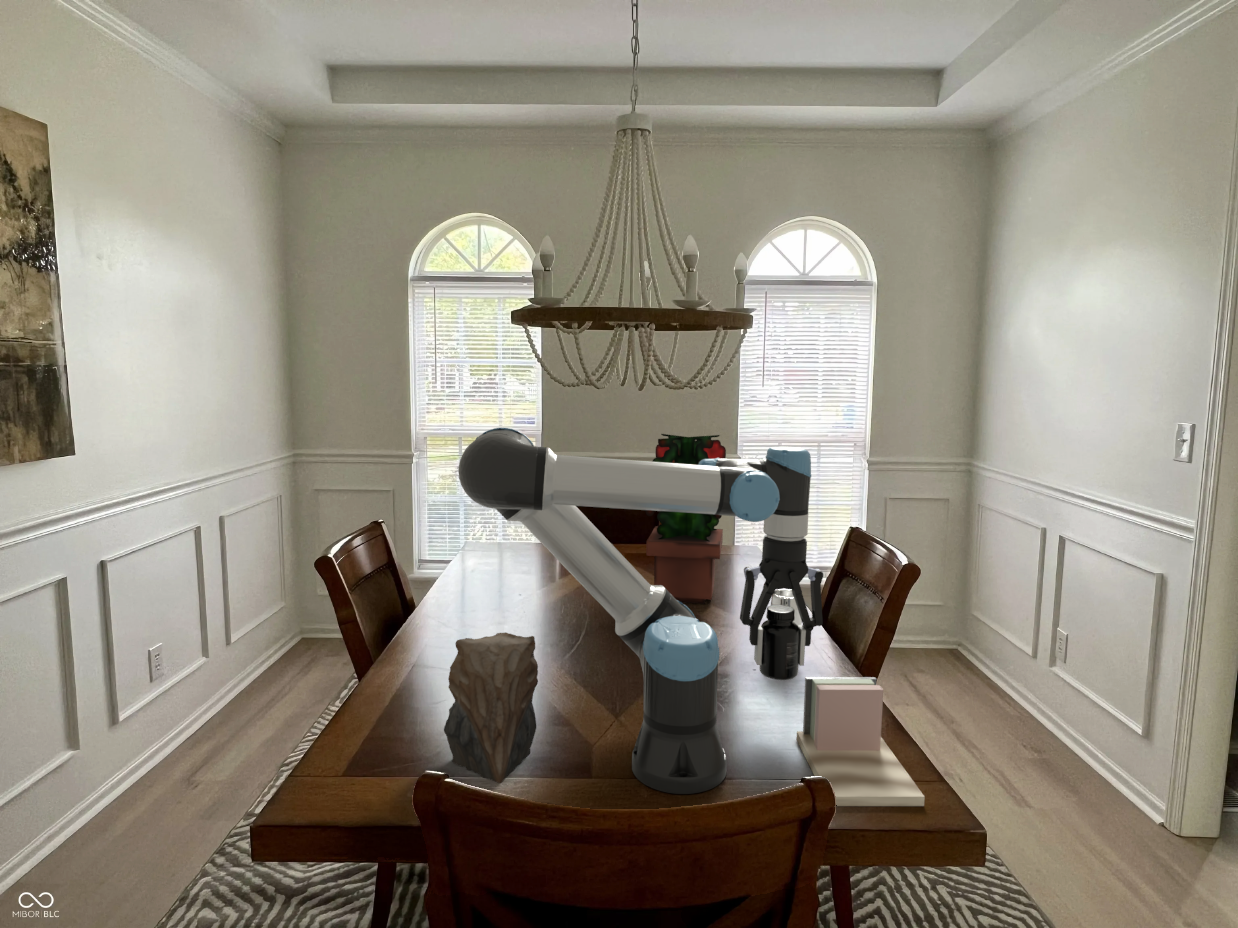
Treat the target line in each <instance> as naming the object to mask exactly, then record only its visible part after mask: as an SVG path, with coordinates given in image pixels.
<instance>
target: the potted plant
mask: <svg viewBox="0 0 1238 928" xmlns="http://www.w3.org/2000/svg"><path fill="white" fill-rule="evenodd" d="M661 436H663V437H666V438H657V443H658V444H657V445H656V446H655V457H654V458H653V459H652V461H651V462H663V463H677V464H691V465H698V464H699V462H700V461H701V460H703V459H716V458H721V459H727V458H726V457H727V454H726V453H727V449H726V447H725V446H724V445H722V444H721V440H719V439H712V438H718V437H720V436H721V435H720V434H716V435H715V434H714V435H698V436H697V435H696V436H683V435H675V434H666V433H661ZM643 511H645V515H646V516H647V517H652V516H654V514H655V512H656V511H653V510H643ZM722 516H723V515H715V514H702V513H685V512H669V511H658V513H657V516H656V518H657V520H658V522H659V523H660V524H659V525H657V526H656V525H655V526H654V528H653V530H652V531H651V533H650V535H649V536H648V538H647V540H646V546H645V547H646V548H645V550H646V554H645V556H649V557H653V558H654V559H653V560H654V562H653V563H654V564H653V566H654V568H653V571H654V572H653V576H654V577H653V580H654V581H653V585H662V586H663V587H665V588H666V589H667V590H668V592H669V593H670V594H671V595H672V596H673V597H674V598H675V599H676V600H678V601H679V602H681V603H682V604H686V603H687V604H699V605H702V604H703V605H705V604H706V600H713V594H714V588H715V578H716V577H715V574H716V571H715V570H716V560H720V559H721V554H722V548H723V537H724V536H723V533H724V529H723V528H715V527H716V526H718V525H719V522H720V519H721V518H722Z"/></svg>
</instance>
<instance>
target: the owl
mask: <svg viewBox="0 0 1238 928" xmlns="http://www.w3.org/2000/svg"><path fill="white" fill-rule="evenodd" d="M455 649H456V650H457V653H456V656H455V657H454V660H453V661H452V663H451V665H450V667H449V668H450V669H449V672H448V673H449V675H448V689H449V691H450V693H451V695H452V697H453V698H454V702H453V703H452V705H451V706H450V708H449V709H448V712H449V713H448V716H447V720H446V721H445V725H444V728H443V732H444V734H445V736H446V738H447V742H448V745H449V750H450V752H451V754H452V760H451V761H452V763H453V764H455V765H457V766H459V767H464V768H465V769H466V770H467V771H471V772H473V773H475V774H478V775H480V777H482V778H484V779H488V780H492V781H493V782H495V783H498V784H502V783H503V781H504V780H505V779H506V778H507V777H508V776H509V775H510V774H511V773H513V772H514V770H515V769H516V767H517V766H519V765H521V764H522V762H523V760H524V759H525V758H526V757H528V756H529V755H530V754H531V747H532V745H533V741H534V739H535V736H536V735H535V734H536V732H537V718H536V713H535V708H534V704H533V699H534V692H535V689H536V687H537V685H538V683H539V679H538V675H539V670H538V668H539V666H538V665H539V663H538V661H537V659H536V658H535V655H534V654H535V653H534V652H535V650H536V641H535V636H533V635H531V636H530V635H529V636H522V635H516V634H512V633H508V632H497V633H496V634H495V635H491V636H483V637H480V638H471V637H470V638H469V637H468V638H467V637H465V638H461V639H457V640H456V641H455Z"/></svg>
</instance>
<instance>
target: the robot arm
mask: <svg viewBox="0 0 1238 928" xmlns="http://www.w3.org/2000/svg"><path fill="white" fill-rule="evenodd" d="M811 457H812V456H811V453H810V452H809V450H807V449H805V448H802V447H796V446H795V447H794V446H771V447H769V448H768V449H767V450H766V455H765V458H757V459H755V458H754V459H753V458H725V459H721V458H716V459H703V460H701V461H700V462H699V464H698V465H691V464H677V463H663V462H652V461H647V460H633V459H632V460H631V459H621V458H620V459H619V458H608V457H607V458H606V457H605V458H604V457H591V456H578V455H567V454H566V455H565V454H564V455H562V454H556V453H555V452H554V451H553V450H552V449H551V448H550V447H547V446H546V447H545V446H535V445H534V443H533V441H532V440H531V439H530V438H529V437H528V436H527V435H526V434H524V433H521V432H520V431H519V430H516V429H513V428H509V427H496V428H491V429H488V430H485V431H484V432H483V433H482V434H480V435H479V436H477V437H476V438H475V440H473V441H472V442H471V443H470V444H468V446H467V447H466V448H465V450H464V451H463V453H462V455H461V457H460V460H459V464H458V470H457V471H458V480H459V482H460V487H462V490H463V491H464V493H465V494H466V495H467V496H468V497H469V498H470V499H471V500H472V501H473V502H475V503H476V504H478V505H480V506H483V507H485V508H488V509H493V510H496V511H497V512H498V513H499V514H500V515H501V516H502V517H503V518H504V519H505V520H506V521H507V522H519V523H521V524H522V526H524V527H525V528H526V529H527V530H528V531H529V532H530V533H531V534H532V535H533V536H534V537H535V539H537V541H539V542H540V543H541V544H542V545H543V547H544V548H546V549H547V550H548V551H549V553H550V554H552V556H553V558H555V559H556V560H557V561H558V562H559V563H560V565H562V566H563V567H564V569H566V571H568V573H570V574H571V575H572V577H574V579H575V580H576V581H577V582H578V583H579V584H580V585H582V586H581V587H583V588H584V589H585V590H586V591H587V592H588V594H589V595H591V596H592V597H593V598H594V599H595V601H597V603H599V604H600V606H601V607H602V608H603V609H604V610H605V611H606V612H607V613H608V614H609V615H610V616H611V617H612V618H613V619H614V620H615V624H614V625H615V626H614V627H615V628H614V632H615V634H616V635H617V636H618V637H619V638H620V639H621V640H622V641H623V642H624V643H625V644H626V645H627V646H628V647H629V648H630V649H631V651H633V652H634V654H635V655H637V657H638V658H639V662H640V666H641V669H642V674H643V675H642V676H643V721H642V723H641V726H640V729H639V732H638V735H637V738H636V742H635V745H634V746H633V747H634V748H633V750H632V753H631V770H632V772H633V775H634V776H635V778H636V779H637V780H638V781H639V782H640V783H642V784H643V785H645V786H647V787H648V788H651V789H653V790H657V791H659V792H662V793H668V794H676V795H689V794H690V795H691V794H697V793H703V792H706V791H710V790H712V789H713V788H716V787H717V786H718V785H720V784H722V782H723V781H724V780H725V777H726V776H727V767H728V766H727V765H728V764H727V762H728V761H727V760H728V759H727V754H726V752H725V749H724V748H723V745H722V740H721V736H720V732H719V729H718V726H717V718H718V717H717V715H718V714H717V713H718V712H717V711H718V675H719V673H718V672H719V660H720V648H719V647H720V646H719V639H718V636H717V633H716V632H715V630H714V628H712V626H710V625H709V624H708V623H706V622H705V621H700V620H699V619H698V618H696V616H695V614H694V613H693V611H692V610H691V609H690V608H689V607H688V606H687V605H686V604H685V603H682V602H679V601H678V600H676V599H675V598H674V597H673V596H672V595H671V594H670V593H669V592H668V590H667V589H666V588H665V587H663V586H662V585H654V584H650V583H649V581H647V579H645V578H644V576H643V575H642V574H641V573H640V572H639V570H637V569H636V568H635V567H634V566H633V565H632V563H630V562H629V561H628V560H627V558H625V556H624V554H623V555H622V553H621V552H620V551H619V550H618V549H617V548H616V547H615V546H614V544H613V543H612V542H610V541H609V540H608V538H606V537H605V535H604V534H603V533H602V532H601V531H600V530H599V529H598V528H597V527H596V526H595V525H594V523H592V521H590V519H588V517H587V516H586V515H585V514H584V513H583V512H582V511H581V510H580V509H579V508H578V507H590V508H591V507H593V508H605V509H606V508H609V509H622V510H623V509H624V510H641V511H644V510H653V511H655V512H656V511H657V512H660V511H669V512H685V513H702V514H715V515H722V516H729V517H737V518H739V519H740V520H743V521H747V522H752V523H759V522H763V529H762V530H763V531H762V532H763V533H764V534H765V535H764V536H763V538H762V556H761V560H760V562H759V564H758V566H753V567H749V566H745V567H744V568H743V573H744V577H745V583H744V588H743V595H742V601H741V607H740V612H739V619H740V621H741V623H742V625H744V626H749V636H748V637H749V639H748V640H749V642H750V645H751V646H754V655H753V659H754V662H755V663H756V665H757V666H760V665H761V661H762V639H763V629H762V627H761V625H762V624H761V621H762V620H763V617H764V616H765V613H766V612H767V607H768V606H769V604H770V602H771V598H772V595H773V594H774V592H775V590H779V589H789V590H792V592H793V595H794V599H795V602H796V605H797V608H798V611H799V614H800V617H801V620H802V624H801V625H798V627H799V630H800V639H799V666H801V667H802V666H805V656H806V655H805V652H806V651H805V648H806V647H810V645H811V642H812V631H814V627H817V626H818V627H821V626H822V625H823V622H824V620H823V606H822V603H823V602H822V587H821V585H822V581H823V579H824V572H823V571H822V570H821V569H820V568H818V567H815V568H812V567H809V566H808V564H807V548H808V540H807V539H806V536H807V535H808V534H809V533H808V531H809V528H808V527H809V505H810V503H809V502H810V492H811V491H810V490H811V479H812V460H811ZM759 574H761V575H762V576H763V578H764V579H765V581H764V584H763V587H762V591H761V593H760V595H759V597H758V600H757V602H756V604H755V607H754V610H753V612H752V614H751V611H752V606H753V599H754V594H755V592H754V591H755V587H756V586H755V585H756V581H757V579H758V578H759ZM806 576H807V577H808V580H810V582H809V585H810V586H809V587H810V602H811V617H810V614H809V611H808V608H807V605H806V601H805V599H804V595H803V591H802V588H801V585H800V583H801V582H802V580H803V579H804V578H805V577H806Z"/></svg>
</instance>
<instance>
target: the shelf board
mask: <svg viewBox="0 0 1238 928" xmlns="http://www.w3.org/2000/svg"><path fill="white" fill-rule="evenodd" d="M796 742H797V744H798V746H799V747H800V749H801V752H802V754H803V755H804V757H805V759H806V762H807V764H808V766H809V768H810V770H811V772H812V773H813V776H814V777H815V776H822V777H825V778H827V779H828V780H829V782H831V784H832V787H833V790H834V792H835V796H836V805H837V806H836V807H925V800H926V799H925V797H926V796H925V794H923V793H922V790H920V788H919V787H918V785H917V784H916V782H915V781H914V780H913V779H912V777H911V775H910V774H909V773H908V772H907V771H906V769H905V767H904V766H903V765H902V763H901V762H900V761H899V760H898V758H897V757H896V756H895V754H894V753H893V751H892V750H891V749H890V747H889V746H888V745H887V743H886V742H885V740H884V738H883V737H882V736H881V743H880V750H817V749H816V747H815V745H814V742H815V741H814V740H813V739H812V737H811V736H810V735H804V733H803V730H802V731H800V730H799V731H796Z"/></svg>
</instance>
